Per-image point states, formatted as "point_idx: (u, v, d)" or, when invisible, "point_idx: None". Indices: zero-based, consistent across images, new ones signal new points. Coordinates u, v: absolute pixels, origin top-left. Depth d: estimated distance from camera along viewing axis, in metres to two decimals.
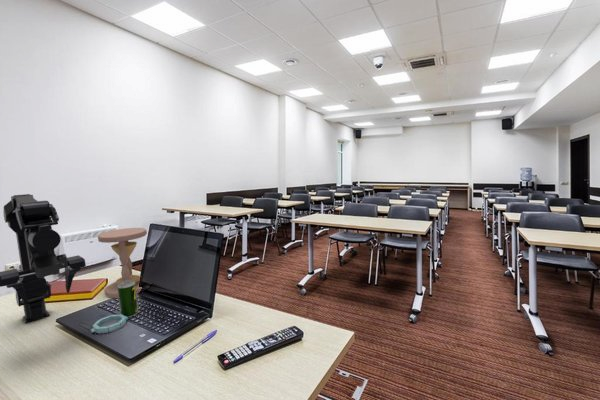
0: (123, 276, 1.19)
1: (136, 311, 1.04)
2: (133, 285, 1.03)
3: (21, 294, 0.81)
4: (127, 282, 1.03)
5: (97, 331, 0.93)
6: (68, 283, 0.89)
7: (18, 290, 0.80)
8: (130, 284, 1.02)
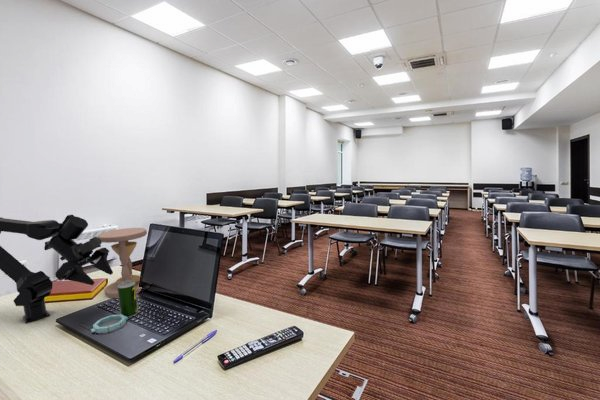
0: (123, 276, 1.19)
1: (136, 311, 1.04)
2: (133, 285, 1.03)
3: (85, 275, 0.98)
4: (127, 282, 1.03)
5: (97, 331, 0.93)
6: (107, 265, 1.08)
7: (81, 272, 0.97)
8: (130, 284, 1.02)
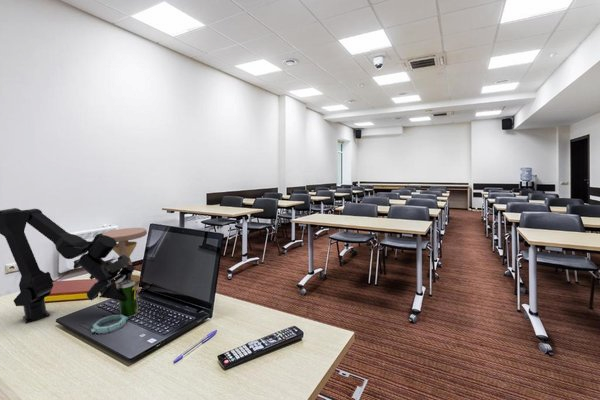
0: None
1: (136, 311, 1.04)
2: (133, 285, 1.03)
3: (119, 292, 1.00)
4: (127, 282, 1.03)
5: (97, 331, 0.93)
6: None
7: (115, 290, 0.99)
8: (130, 284, 1.02)
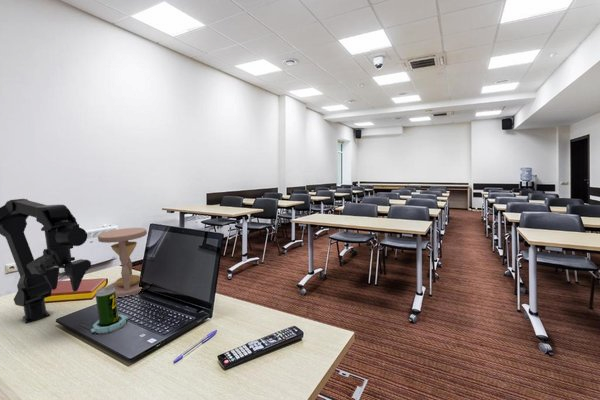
0: (123, 276, 1.19)
1: (115, 321, 0.96)
2: (111, 293, 0.95)
3: (47, 280, 0.98)
4: (106, 289, 0.96)
5: (97, 331, 0.93)
6: (71, 283, 0.96)
7: (44, 276, 0.98)
8: (107, 292, 0.94)
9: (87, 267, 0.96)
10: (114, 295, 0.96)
